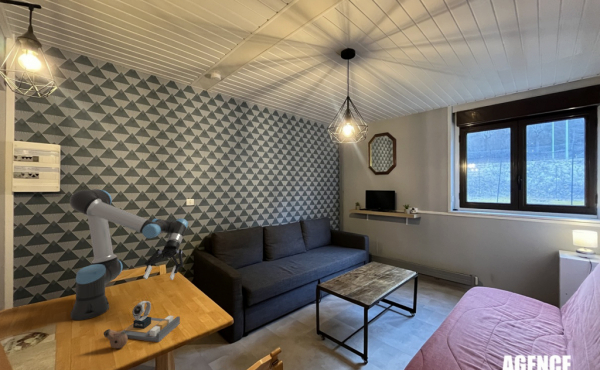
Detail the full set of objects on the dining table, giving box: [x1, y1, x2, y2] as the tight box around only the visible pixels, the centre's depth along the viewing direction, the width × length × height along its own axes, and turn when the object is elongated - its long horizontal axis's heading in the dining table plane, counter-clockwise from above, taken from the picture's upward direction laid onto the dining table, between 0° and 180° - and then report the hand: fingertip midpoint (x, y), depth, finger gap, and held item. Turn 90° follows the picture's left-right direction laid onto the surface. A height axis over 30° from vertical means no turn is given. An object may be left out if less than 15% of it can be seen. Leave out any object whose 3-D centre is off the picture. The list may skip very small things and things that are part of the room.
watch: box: [132, 300, 152, 329], centre depth 113 cm, size 6×8×11 cm
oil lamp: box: [103, 328, 129, 349], centre depth 100 cm, size 9×4×8 cm, turn 100°
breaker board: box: [122, 315, 181, 343], centre depth 112 cm, size 20×14×4 cm
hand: (158, 278), depth 126 cm, fingers open, 13 cm apart
